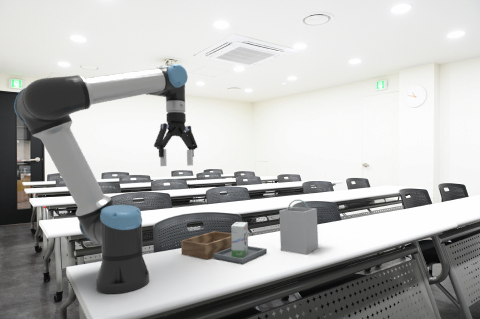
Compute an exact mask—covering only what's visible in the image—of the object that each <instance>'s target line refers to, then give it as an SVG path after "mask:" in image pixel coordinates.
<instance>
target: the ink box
mask: <svg viewBox="0 0 480 319" xmlns="http://www.w3.org/2000/svg"><path fill="white" fill-rule="evenodd" d="M248 224H249V222H247V221H246V222H245V221H236V222H234V223H233V224H232V225H231V227H230V228H231V230H230V231H231V236H232V257H245V255H246V253H247V252H248V246H249V232H248V231H249V229H248V228H249V226H248Z"/></svg>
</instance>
